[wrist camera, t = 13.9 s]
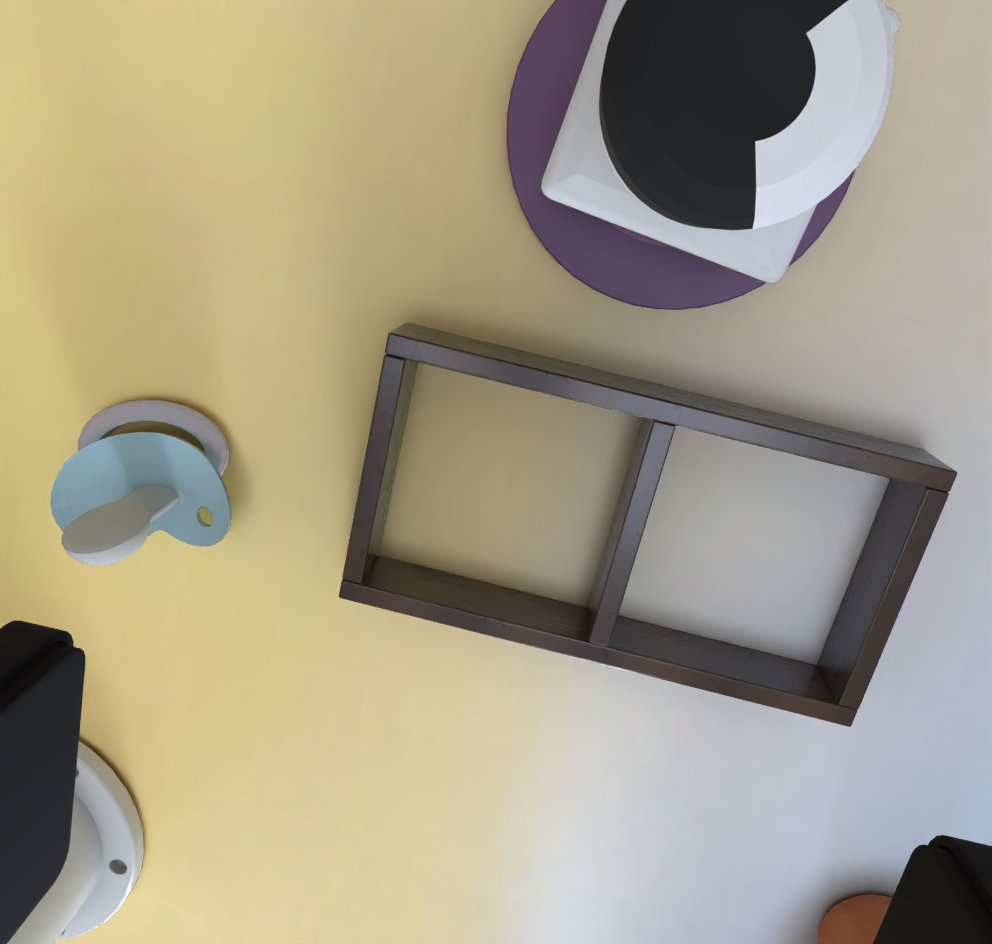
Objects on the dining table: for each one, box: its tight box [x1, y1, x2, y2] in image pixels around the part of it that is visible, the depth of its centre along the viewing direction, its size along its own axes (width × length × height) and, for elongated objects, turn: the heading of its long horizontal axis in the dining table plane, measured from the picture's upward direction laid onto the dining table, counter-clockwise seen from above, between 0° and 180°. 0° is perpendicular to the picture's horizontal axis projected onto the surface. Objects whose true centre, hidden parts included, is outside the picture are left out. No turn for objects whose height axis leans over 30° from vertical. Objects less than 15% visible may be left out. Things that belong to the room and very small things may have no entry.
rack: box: [339, 323, 957, 727], centre depth 32 cm, size 20×11×3 cm, turn 77°
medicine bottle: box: [541, 0, 901, 283], centre depth 23 cm, size 7×7×12 cm
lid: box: [507, 0, 855, 310], centre depth 29 cm, size 12×12×1 cm
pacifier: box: [51, 399, 231, 566], centre depth 32 cm, size 7×6×6 cm
